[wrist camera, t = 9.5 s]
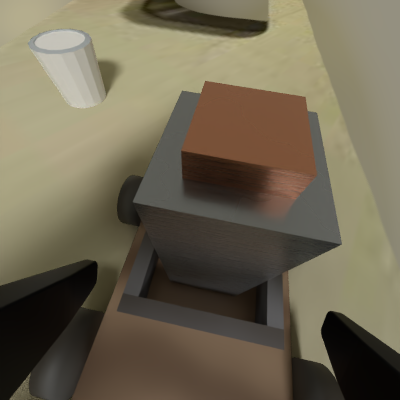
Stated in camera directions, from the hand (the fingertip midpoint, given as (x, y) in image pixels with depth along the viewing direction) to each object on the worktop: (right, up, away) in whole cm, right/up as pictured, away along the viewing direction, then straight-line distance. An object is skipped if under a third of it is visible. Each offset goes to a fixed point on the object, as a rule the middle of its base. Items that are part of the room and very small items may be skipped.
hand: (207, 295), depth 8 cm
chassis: (0, -4, +9) cm, 10 cm away
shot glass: (-17, +19, +22) cm, 34 cm away
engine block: (0, -1, +9) cm, 9 cm away
